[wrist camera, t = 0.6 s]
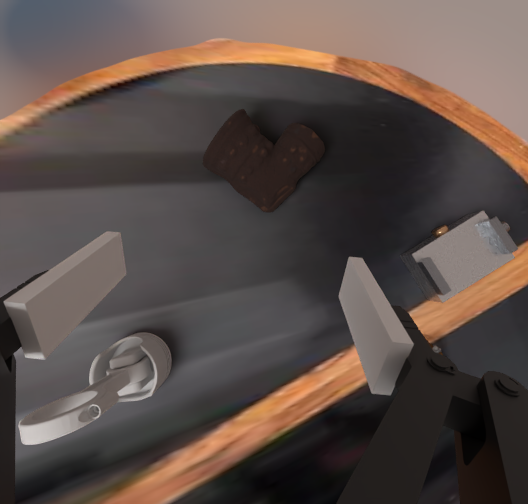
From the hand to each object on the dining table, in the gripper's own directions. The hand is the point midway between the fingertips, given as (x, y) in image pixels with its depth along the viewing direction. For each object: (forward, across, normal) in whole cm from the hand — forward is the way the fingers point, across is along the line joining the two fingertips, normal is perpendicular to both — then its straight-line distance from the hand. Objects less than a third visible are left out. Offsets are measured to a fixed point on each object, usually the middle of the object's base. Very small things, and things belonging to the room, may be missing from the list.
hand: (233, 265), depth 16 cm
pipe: (+38, 0, 0) cm, 38 cm away
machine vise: (+31, -35, +10) cm, 48 cm away
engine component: (+19, +17, +32) cm, 41 cm away
